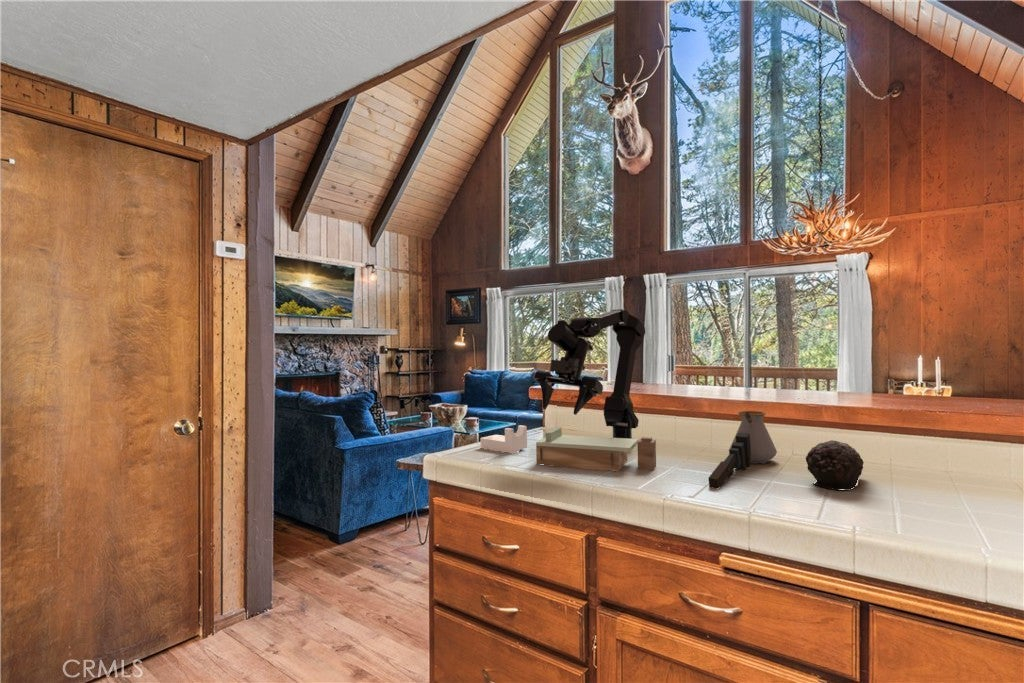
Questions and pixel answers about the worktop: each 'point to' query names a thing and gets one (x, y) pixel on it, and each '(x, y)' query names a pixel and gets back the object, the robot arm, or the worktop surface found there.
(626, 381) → the robot arm
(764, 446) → the coffee pot
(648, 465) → the brown stepped square block
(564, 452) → the brown box
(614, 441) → the lid
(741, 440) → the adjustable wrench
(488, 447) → the bracket
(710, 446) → the worktop surface
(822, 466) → the pine cone
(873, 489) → the worktop surface
